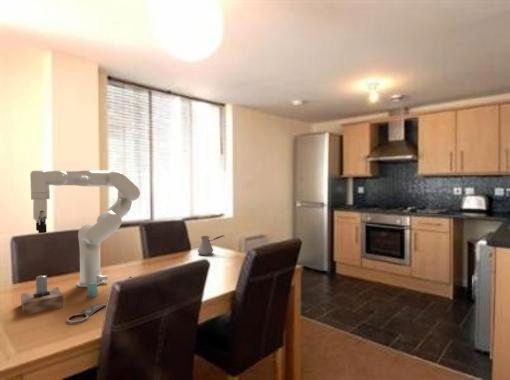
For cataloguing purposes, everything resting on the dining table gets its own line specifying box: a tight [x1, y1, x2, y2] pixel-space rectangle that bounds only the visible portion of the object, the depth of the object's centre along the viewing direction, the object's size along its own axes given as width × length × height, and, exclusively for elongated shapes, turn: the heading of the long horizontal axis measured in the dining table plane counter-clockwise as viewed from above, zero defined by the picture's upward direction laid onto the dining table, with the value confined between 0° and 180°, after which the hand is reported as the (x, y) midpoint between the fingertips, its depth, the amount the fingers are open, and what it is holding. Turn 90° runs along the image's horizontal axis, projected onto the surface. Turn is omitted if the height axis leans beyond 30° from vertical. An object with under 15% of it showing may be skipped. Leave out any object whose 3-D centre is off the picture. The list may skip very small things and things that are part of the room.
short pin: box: [87, 282, 98, 298], centre depth 155 cm, size 4×4×6 cm
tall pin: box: [35, 274, 48, 298], centre depth 143 cm, size 4×4×13 cm
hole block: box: [20, 287, 64, 316], centre depth 143 cm, size 14×14×5 cm
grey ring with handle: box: [66, 303, 107, 325], centre depth 134 cm, size 8×19×2 cm, turn 169°
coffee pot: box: [197, 234, 225, 256], centre depth 239 cm, size 21×12×15 cm, turn 70°
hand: (41, 231), depth 158 cm, fingers open, 9 cm apart
